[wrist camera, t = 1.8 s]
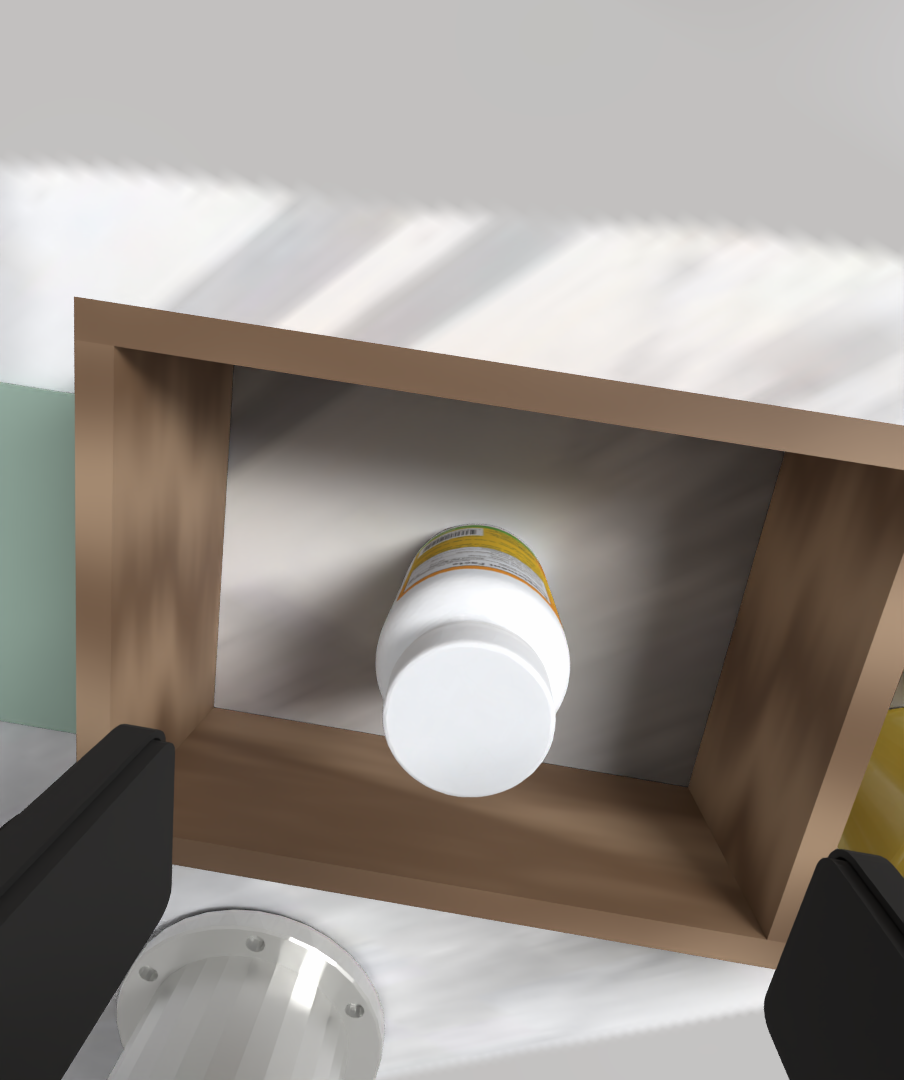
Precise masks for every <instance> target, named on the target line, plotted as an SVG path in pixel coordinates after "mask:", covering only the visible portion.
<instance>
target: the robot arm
mask: <svg viewBox="0 0 904 1080" xmlns="http://www.w3.org/2000/svg"><path fill="white" fill-rule="evenodd" d="M174 775H175V747H174V744H172V743H170V742H166V737H165V734H164V732H163V731H161V730H158V729H152V728H147V727H141V726H135V725H129V724H120V725H118V726H117V727H115V728H114V729H113V730H112V731H110V732H109V733H108V734H107V735H106V736H105V737H104V738H103V739H102V740H101V741H99V742H98V743H97V744H96V745H95V746H94V747H93V748H92V749H91V750H90V751H88V752H87V753H86V754H85V755H84V756H83V757H82V758H81V759H80V760H78V761H77V762H76V763H75V764H74V765H73V766H72V767H71V768H70V769H69V770H67V771H66V772H65V773H64V774H63V775H62V776H61V777H60V778H59V779H58V780H56V781H55V782H54V783H53V784H52V785H51V786H50V787H49V788H48V789H47V790H45V791H44V792H43V793H42V794H41V795H40V796H39V797H38V798H37V799H36V800H34V801H33V802H32V803H31V804H30V805H29V806H28V807H27V808H26V809H24V810H23V811H22V812H21V813H20V814H18V815H16V816H15V817H14V818H12V819H11V820H10V821H8V822H7V823H6V824H4V825H3V826H2V827H1V828H0V1080H61V1079H62V1077H63V1076H64V1074H65V1072H66V1071H67V1069H68V1068H69V1066H70V1064H71V1063H72V1061H73V1060H74V1058H75V1056H76V1055H77V1053H78V1051H79V1050H80V1048H81V1047H82V1045H83V1043H84V1042H85V1040H86V1039H87V1037H88V1035H89V1034H90V1032H91V1031H92V1029H93V1027H94V1026H95V1024H96V1023H97V1021H98V1019H99V1018H100V1016H101V1014H102V1013H103V1011H104V1010H105V1008H106V1006H107V1005H108V1003H109V1002H110V1000H111V998H112V997H113V995H114V994H115V992H116V990H117V989H118V987H119V986H120V984H121V982H122V981H123V979H124V977H125V976H126V974H127V973H128V974H127V976H126V977H125V979H124V981H123V983H122V985H121V989H120V993H119V996H118V1000H117V1026H118V1030H119V1035H120V1039H121V1043H122V1045H123V1047H124V1050H123V1052H122V1054H121V1055H120V1057H119V1059H118V1061H117V1063H116V1064H115V1066H114V1068H113V1070H112V1071H111V1073H110V1075H109V1077H108V1079H107V1080H375V1078H376V1075H377V1072H378V1068H379V1065H380V1062H381V1057H382V1050H383V1042H384V1035H385V1025H384V1014H383V1009H382V1006H381V1003H380V1000H379V997H378V994H377V991H376V989H375V988H374V986H373V984H372V983H371V981H370V979H369V977H368V976H367V974H366V972H365V971H364V970H363V969H362V968H361V967H360V965H359V964H358V963H357V962H356V961H355V960H354V958H353V957H352V956H351V955H350V954H349V953H348V952H346V951H345V950H344V949H343V948H341V947H340V946H339V945H338V944H337V943H335V942H334V941H333V940H332V939H330V938H329V937H327V936H325V935H324V934H322V933H320V932H318V931H317V930H315V929H313V928H311V927H310V926H308V925H305V924H303V923H300V922H297V921H295V920H292V919H289V918H287V917H284V916H280V915H275V914H270V913H266V912H261V911H251V910H223V911H214V912H206V913H203V914H199V915H196V916H192V917H189V918H186V919H183V920H181V921H179V922H177V923H175V924H173V925H171V926H170V927H168V928H166V929H164V930H163V931H162V932H160V933H159V934H158V935H157V936H156V937H154V938H153V939H152V940H151V941H150V942H148V944H147V945H146V946H145V948H144V949H143V947H144V945H145V944H146V942H147V940H148V939H149V937H150V936H151V934H152V932H153V931H154V929H155V928H156V926H157V924H158V923H159V921H160V919H161V918H162V916H163V914H164V912H165V909H166V907H167V904H168V901H169V898H170V894H171V885H172V848H173V812H174ZM142 949H143V950H142ZM141 950H142V952H141ZM140 952H141V953H140ZM139 953H140V954H139ZM138 955H139V956H138ZM134 961H135V962H134ZM131 966H132V967H131ZM130 968H131V969H130ZM129 969H130V970H129ZM128 971H129V972H128ZM764 1013H765V1019H766V1024H767V1027H768V1030H769V1033H770V1034H771V1037H772V1040H773V1042H774V1044H775V1047H776V1049H777V1051H778V1054H779V1056H780V1058H781V1061H782V1063H783V1066H784V1068H785V1070H786V1073H787V1075H788V1077H789V1079H790V1080H904V877H903V876H902V875H901V874H900V873H899V871H898V870H897V869H896V868H895V867H894V865H893V864H892V863H890V862H889V861H888V860H887V859H886V858H884V857H882V856H879V855H874V854H868V853H862V852H856V851H851V850H845V849H835V850H834V851H832V852H831V853H830V854H829V856H828V858H822V859H820V860H819V862H818V863H817V865H816V867H815V870H814V873H813V875H812V878H811V880H810V883H809V885H808V888H807V891H806V893H805V896H804V898H803V901H802V903H801V906H800V909H799V911H798V914H797V916H796V919H795V921H794V924H793V927H792V929H791V932H790V934H789V937H788V939H787V942H786V944H785V947H784V950H783V952H782V955H781V957H780V960H779V962H778V965H777V968H776V970H775V973H774V975H773V978H772V980H771V983H770V986H769V988H768V991H767V993H766V996H765V1000H764Z"/></svg>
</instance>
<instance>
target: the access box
mask: <svg viewBox="0 0 904 1080" xmlns="http://www.w3.org/2000/svg"><path fill="white" fill-rule="evenodd" d="M234 365H238V366H245V367H251V368H257V369H264V370H270V371H277V372H283V373H289V374H296V375H302V376H308V377H315V378H321V379H328V380H334V381H340V382H347V383H353V384H359V385H366V386H372V387H378V388H385V389H391V390H398V391H404V392H410V393H417V394H423V395H429V396H436V397H442V398H448V399H455V400H461V401H468V402H474V403H480V404H487V405H493V406H499V407H506V408H512V409H519V410H525V411H531V412H538V413H544V414H550V415H557V416H563V417H569V418H576V419H582V420H589V421H595V422H601V423H608V424H614V425H620V426H627V427H633V428H640V429H646V430H652V431H659V432H665V433H671V434H678V435H684V436H690V437H697V438H703V439H710V440H716V441H722V442H729V443H735V444H741V445H748V446H754V447H761V448H767V449H773V450H780V451H785V453H784V457H783V460H782V464H781V467H780V471H779V474H778V478H777V481H776V485H775V488H774V491H773V495H772V498H771V502H770V505H769V509H768V512H767V516H766V519H765V523H764V526H763V530H762V533H761V536H760V540H759V543H758V547H757V550H756V554H755V557H754V561H753V564H752V568H751V571H750V574H749V578H748V581H747V585H746V588H745V592H744V595H743V599H742V602H741V606H740V609H739V613H738V616H737V619H736V623H735V626H734V630H733V633H732V637H731V640H730V644H729V647H728V651H727V654H726V657H725V661H724V664H723V668H722V671H721V675H720V678H719V682H718V685H717V689H716V692H715V696H714V699H713V702H712V706H711V709H710V713H709V716H708V720H707V723H706V727H705V730H704V734H703V737H702V740H701V744H700V747H699V751H698V754H697V758H696V761H695V765H694V768H693V772H692V775H691V779H690V782H689V785H688V787H683V786H677V785H671V784H665V783H659V782H653V781H647V780H641V779H635V778H629V777H624V776H618V775H612V774H606V773H600V772H594V771H588V770H582V769H576V768H570V767H564V766H558V765H552V764H546V763H541V764H540V765H539V766H538V768H537V769H536V770H535V771H534V772H533V773H532V774H531V775H530V776H529V777H527V778H526V779H525V780H523V781H522V782H521V783H519V784H518V785H516V786H514V787H512V788H510V789H508V790H506V791H503V792H500V793H497V794H493V795H489V796H483V797H458V796H452V795H447V794H444V793H441V792H438V791H436V790H433V789H431V788H429V787H426V786H425V785H423V784H422V783H420V782H419V781H417V780H416V779H414V778H413V777H412V776H411V775H409V774H408V773H407V772H406V771H405V770H404V769H403V768H402V766H401V765H400V764H399V763H398V761H397V760H396V759H395V757H394V756H393V754H392V752H391V750H390V748H389V746H388V744H387V741H386V738H385V736H380V735H375V734H369V733H363V732H357V731H351V730H345V729H339V728H333V727H327V726H321V725H315V724H309V723H303V722H297V721H292V720H286V719H280V718H274V717H268V716H262V715H256V714H250V713H244V712H238V711H232V710H226V709H220V708H214V692H215V675H216V658H217V641H218V624H219V607H220V590H221V572H222V555H223V538H224V521H225V504H226V487H227V470H228V453H229V436H230V419H231V402H232V385H233V367H234ZM74 366H75V561H76V755H77V761H78V760H80V759H81V758H82V757H83V756H84V755H85V754H86V753H87V752H88V751H90V750H91V749H92V748H93V747H94V746H95V745H96V744H97V743H98V742H99V741H101V740H102V739H103V738H104V737H105V736H106V735H107V734H108V733H109V732H110V731H112V730H113V729H114V728H115V727H117V726H118V725H120V724H129V725H135V726H141V727H147V728H152V729H158V730H161V731H163V732H164V734H165V737H166V742H170V743H172V744H174V747H175V775H174V812H173V848H172V864H174V865H179V866H185V867H191V868H197V869H202V870H208V871H214V872H220V873H225V874H231V875H237V876H243V877H248V878H254V879H260V880H266V881H271V882H277V883H283V884H288V885H294V886H300V887H306V888H311V889H317V890H323V891H329V892H334V893H340V894H346V895H352V896H357V897H363V898H369V899H375V900H380V901H386V902H392V903H398V904H403V905H409V906H415V907H421V908H426V909H432V910H438V911H443V912H449V913H455V914H461V915H466V916H472V917H478V918H484V919H489V920H495V921H501V922H507V923H512V924H518V925H524V926H530V927H535V928H541V929H547V930H553V931H558V932H564V933H570V934H576V935H581V936H587V937H593V938H598V939H604V940H610V941H616V942H621V943H627V944H633V945H639V946H644V947H650V948H656V949H662V950H667V951H673V952H679V953H685V954H690V955H696V956H702V957H708V958H713V959H719V960H725V961H731V962H736V963H742V964H748V965H754V966H759V967H765V968H771V969H776V968H777V965H778V962H779V960H780V957H781V955H782V952H783V950H784V947H785V944H786V942H787V939H788V937H789V934H790V932H791V929H792V927H793V924H794V921H795V919H796V916H797V914H798V911H799V909H800V906H801V903H802V901H803V898H804V896H805V893H806V891H807V888H808V885H809V883H810V880H811V878H812V875H813V873H814V870H815V867H816V865H817V863H818V862H819V860H820V859H822V858H828V856H829V854H830V853H831V852H832V851H834V850H835V849H837V847H838V844H839V841H840V839H841V836H842V833H843V831H844V828H845V825H846V823H847V820H848V817H849V815H850V812H851V809H852V806H853V804H854V801H855V798H856V796H857V793H858V790H859V788H860V785H861V782H862V780H863V777H864V774H865V771H866V769H867V766H868V763H869V761H870V758H871V755H872V753H873V750H874V747H875V745H876V742H877V739H878V737H879V734H880V731H881V728H882V726H883V723H884V720H885V718H886V715H887V712H888V710H889V707H890V704H891V702H892V699H893V696H894V693H895V691H896V688H897V685H898V683H899V680H900V677H901V675H902V672H903V669H904V426H902V425H896V424H890V423H883V422H877V421H870V420H864V419H857V418H851V417H845V416H838V415H832V414H825V413H819V412H812V411H806V410H800V409H793V408H787V407H780V406H774V405H767V404H761V403H755V402H748V401H742V400H735V399H729V398H722V397H716V396H710V395H703V394H697V393H690V392H684V391H677V390H671V389H665V388H658V387H652V386H645V385H639V384H632V383H626V382H620V381H613V380H607V379H600V378H594V377H587V376H581V375H575V374H568V373H562V372H555V371H549V370H542V369H536V368H530V367H523V366H517V365H510V364H504V363H497V362H491V361H485V360H478V359H472V358H465V357H459V356H452V355H446V354H440V353H433V352H427V351H420V350H414V349H407V348H401V347H395V346H388V345H382V344H375V343H369V342H363V341H356V340H350V339H343V338H337V337H330V336H324V335H318V334H311V333H305V332H298V331H292V330H285V329H279V328H273V327H266V326H260V325H253V324H247V323H240V322H234V321H228V320H221V319H215V318H208V317H202V316H195V315H189V314H183V313H176V312H170V311H163V310H157V309H150V308H144V307H138V306H131V305H125V304H118V303H112V302H105V301H99V300H93V299H86V298H80V297H74Z"/></svg>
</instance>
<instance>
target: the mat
mask: <svg viewBox="0 0 904 1080" xmlns="http://www.w3.org/2000/svg"><path fill="white" fill-rule="evenodd" d="M0 721H4V722H10V723H15V724H21V725H27V726H33V727H39V728H45V729H51V730H57V731H62V732H68V733H74V734H76V561H75V394H72V393H65V392H59V391H53V390H47V389H40V388H34V387H28V386H21V385H15V384H9V383H3V382H0Z"/></svg>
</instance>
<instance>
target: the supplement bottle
mask: <svg viewBox="0 0 904 1080" xmlns="http://www.w3.org/2000/svg"><path fill="white" fill-rule="evenodd" d="M376 675H377V682H378V686H379V689H380V692H381V695H382V698H383V700H384V703H383V710H382V721H383V729H384V734H385V738H386V741H387V744H388V746H389V748H390V750H391V752H392V754H393V756H394V757H395V759H396V760H397V761H398V763H399V764H400V765H401V766H402V768H403V769H404V770H405V771H406V772H407V773H408V774H409V775H411V776H412V777H413V778H414V779H416V780H417V781H419V782H420V783H422V784H423V785H425V786H426V787H429V788H431V789H433V790H436V791H438V792H441V793H444V794H447V795H452V796H458V797H483V796H489V795H493V794H497V793H500V792H503V791H506V790H508V789H510V788H512V787H514V786H516V785H518V784H519V783H521V782H522V781H523V780H525V779H526V778H527V777H529V776H530V775H531V774H532V773H533V772H534V771H535V770H536V769H537V768H538V766H539V765H540V764H541V763H542V762H543V760H544V758H545V757H546V755H547V753H548V751H549V749H550V746H551V744H552V741H553V736H554V731H555V722H556V717H555V714H556V712H557V711H558V709H559V707H560V705H561V703H562V701H563V699H564V696H565V694H566V691H567V687H568V683H569V676H570V655H569V648H568V644H567V640H566V636H565V633H564V630H563V627H562V624H561V621H560V618H559V615H558V612H557V609H556V606H555V603H554V600H553V597H552V594H551V592H550V589H549V586H548V583H547V580H546V577H545V574H544V572H543V569H542V567H541V565H540V563H539V561H538V559H537V557H536V556H535V554H534V553H533V552H532V551H531V549H530V548H529V547H528V546H527V545H526V544H525V543H524V542H523V541H522V540H520V539H519V538H518V537H516V536H515V535H513V534H512V533H510V532H508V531H506V530H504V529H501V528H499V527H495V526H491V525H486V524H465V525H459V526H455V527H452V528H449V529H447V530H445V531H442V532H441V533H439V534H437V535H436V536H434V537H433V538H432V539H430V540H429V541H428V542H427V543H426V544H425V545H424V546H423V547H422V548H421V549H420V550H419V552H418V553H417V555H416V556H415V558H414V559H413V561H412V563H411V565H410V567H409V569H408V571H407V574H406V576H405V578H404V580H403V583H402V585H401V587H400V589H399V592H398V594H397V596H396V598H395V601H394V603H393V605H392V607H391V610H390V612H389V614H388V616H387V618H386V621H385V623H384V626H383V628H382V631H381V634H380V637H379V640H378V645H377V650H376Z"/></svg>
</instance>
